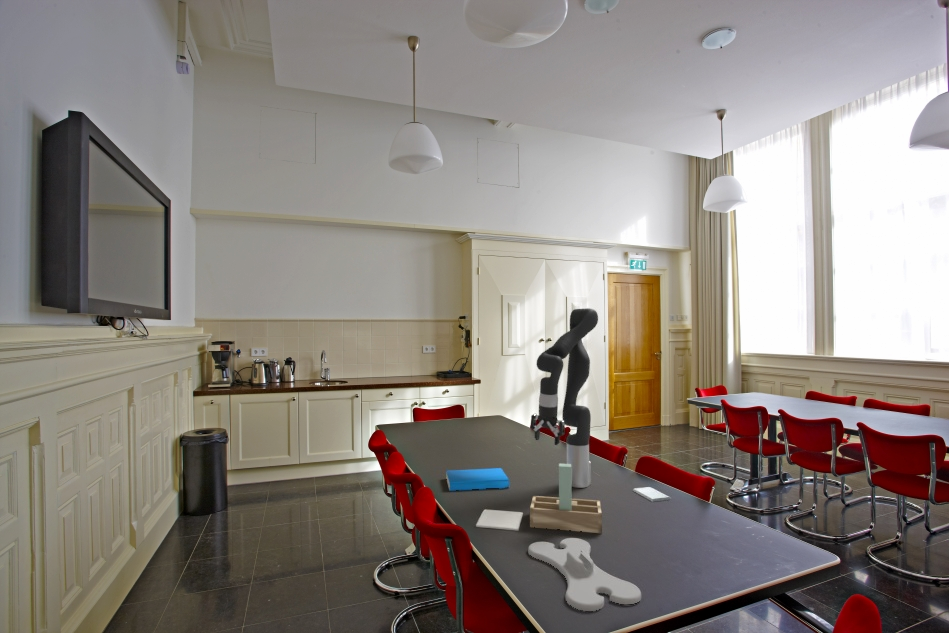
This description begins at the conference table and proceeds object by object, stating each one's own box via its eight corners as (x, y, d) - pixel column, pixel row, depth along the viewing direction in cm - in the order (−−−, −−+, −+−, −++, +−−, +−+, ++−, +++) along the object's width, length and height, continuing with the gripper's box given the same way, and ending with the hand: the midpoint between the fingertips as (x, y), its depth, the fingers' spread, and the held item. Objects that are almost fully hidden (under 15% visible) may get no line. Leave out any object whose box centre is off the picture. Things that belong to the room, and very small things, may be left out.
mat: (484, 511, 168) (484, 509, 168) (522, 514, 165) (522, 512, 165) (476, 526, 154) (476, 525, 154) (518, 530, 151) (518, 528, 151)
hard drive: (670, 496, 179) (650, 486, 191) (652, 498, 177) (633, 488, 189) (670, 501, 179) (650, 490, 191) (652, 503, 177) (633, 492, 189)
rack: (533, 512, 166) (533, 495, 166) (599, 518, 161) (599, 500, 161) (529, 527, 154) (529, 508, 154) (601, 533, 149) (601, 514, 149)
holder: (576, 616, 106) (575, 594, 106) (523, 549, 139) (523, 532, 139) (649, 604, 111) (648, 583, 111) (581, 542, 144) (581, 525, 144)
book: (445, 470, 205) (500, 467, 209) (445, 480, 205) (501, 476, 209) (449, 482, 188) (509, 478, 192) (449, 493, 188) (509, 489, 192)
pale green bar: (559, 523, 157) (559, 463, 158) (571, 524, 156) (571, 464, 157) (559, 527, 153) (558, 466, 154) (571, 528, 153) (571, 466, 153)
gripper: (568, 404, 186) (566, 443, 188) (536, 398, 194) (535, 435, 196) (560, 409, 180) (558, 449, 182) (528, 402, 188) (526, 440, 190)
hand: (546, 442), depth 189 cm, fingers open, 8 cm apart
